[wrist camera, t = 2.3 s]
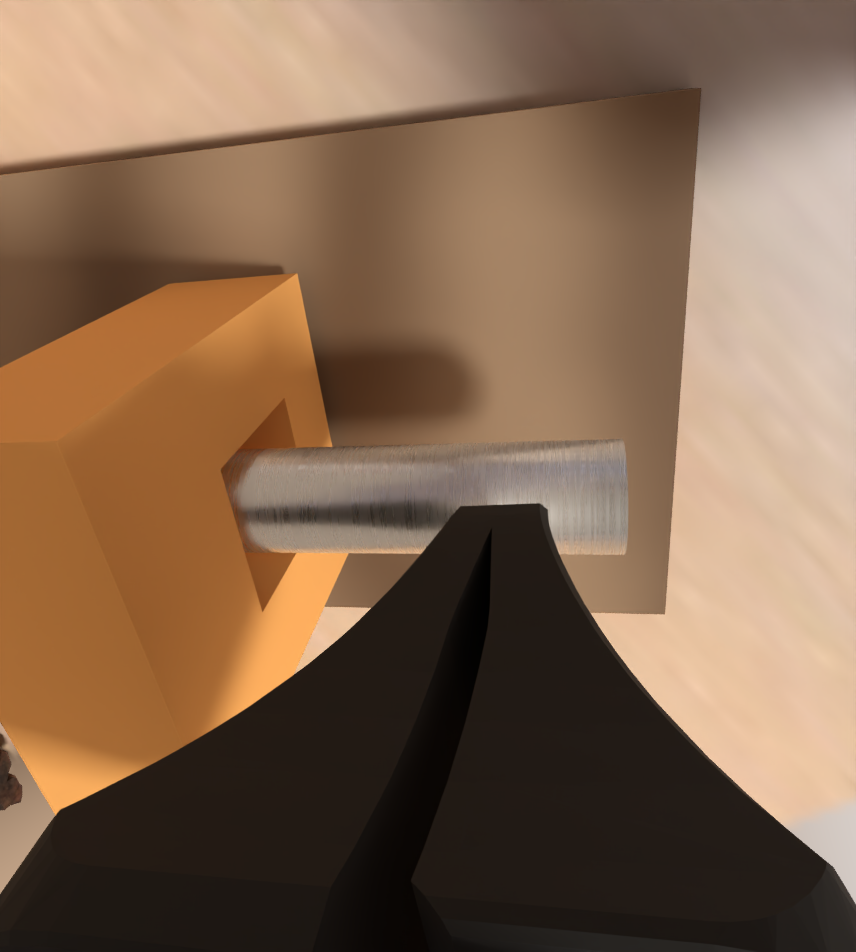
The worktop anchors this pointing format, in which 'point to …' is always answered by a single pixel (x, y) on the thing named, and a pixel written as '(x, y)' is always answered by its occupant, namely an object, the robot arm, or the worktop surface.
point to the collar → (149, 528)
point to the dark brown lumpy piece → (8, 783)
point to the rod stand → (420, 320)
